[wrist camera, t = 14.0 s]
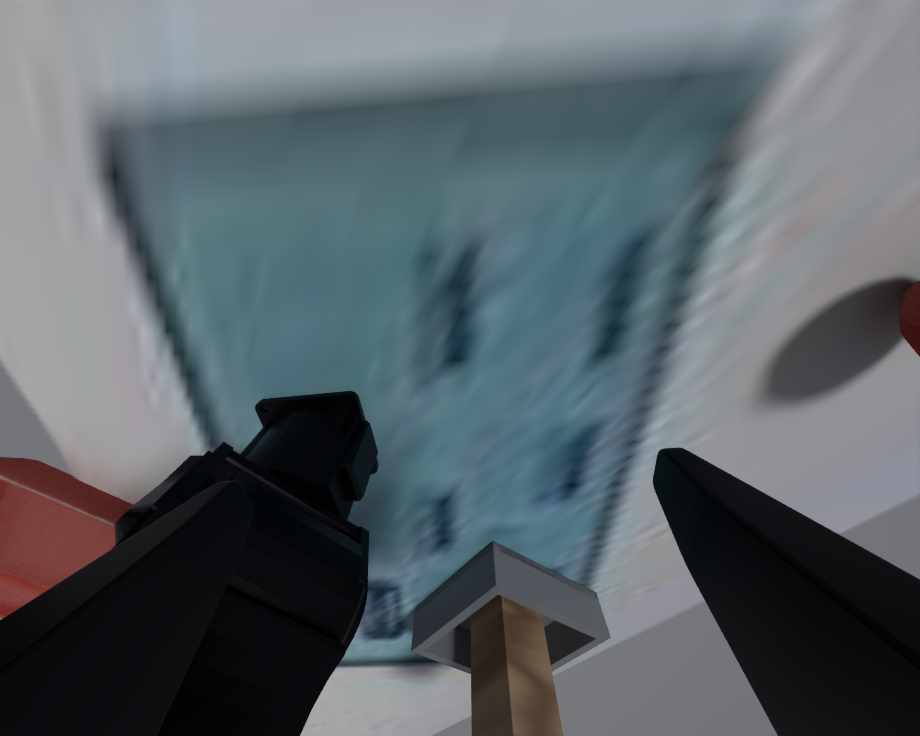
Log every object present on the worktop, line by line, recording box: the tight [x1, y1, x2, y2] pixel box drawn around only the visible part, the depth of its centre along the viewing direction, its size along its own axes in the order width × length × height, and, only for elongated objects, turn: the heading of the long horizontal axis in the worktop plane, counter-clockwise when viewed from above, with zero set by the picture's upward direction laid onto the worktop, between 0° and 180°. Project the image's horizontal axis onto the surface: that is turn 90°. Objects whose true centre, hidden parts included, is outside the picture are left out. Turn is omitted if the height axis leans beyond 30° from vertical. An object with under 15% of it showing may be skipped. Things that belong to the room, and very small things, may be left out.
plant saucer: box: [0, 457, 133, 618], centre depth 28 cm, size 18×18×3 cm
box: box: [411, 541, 611, 674], centre depth 30 cm, size 12×12×4 cm
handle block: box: [471, 595, 563, 736], centre depth 26 cm, size 4×4×12 cm
